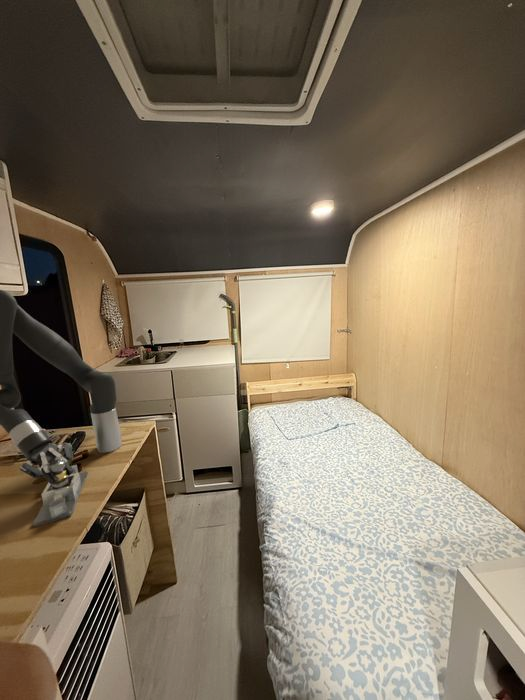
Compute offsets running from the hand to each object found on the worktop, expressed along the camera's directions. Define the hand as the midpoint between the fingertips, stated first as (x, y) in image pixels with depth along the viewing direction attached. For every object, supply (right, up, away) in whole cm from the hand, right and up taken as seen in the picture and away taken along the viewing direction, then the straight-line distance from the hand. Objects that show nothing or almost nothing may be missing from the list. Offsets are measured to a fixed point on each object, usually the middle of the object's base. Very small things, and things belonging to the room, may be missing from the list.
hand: (63, 478), depth 88 cm
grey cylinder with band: (-2, -4, +1) cm, 4 cm away
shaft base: (-1, -7, +2) cm, 7 cm away
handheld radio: (-12, -5, +18) cm, 23 cm away
